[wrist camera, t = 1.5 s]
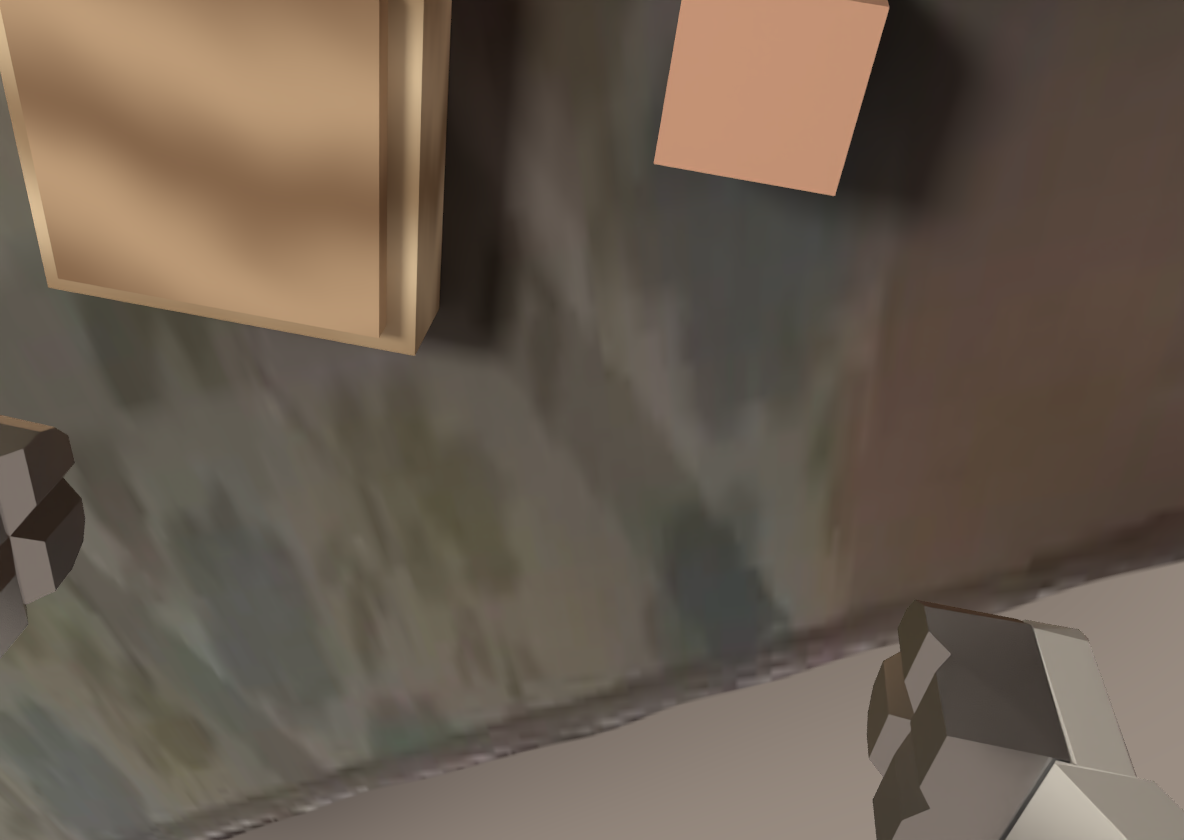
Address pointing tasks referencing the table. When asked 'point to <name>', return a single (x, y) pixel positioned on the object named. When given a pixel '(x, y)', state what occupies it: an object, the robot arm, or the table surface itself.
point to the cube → (768, 88)
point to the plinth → (238, 157)
